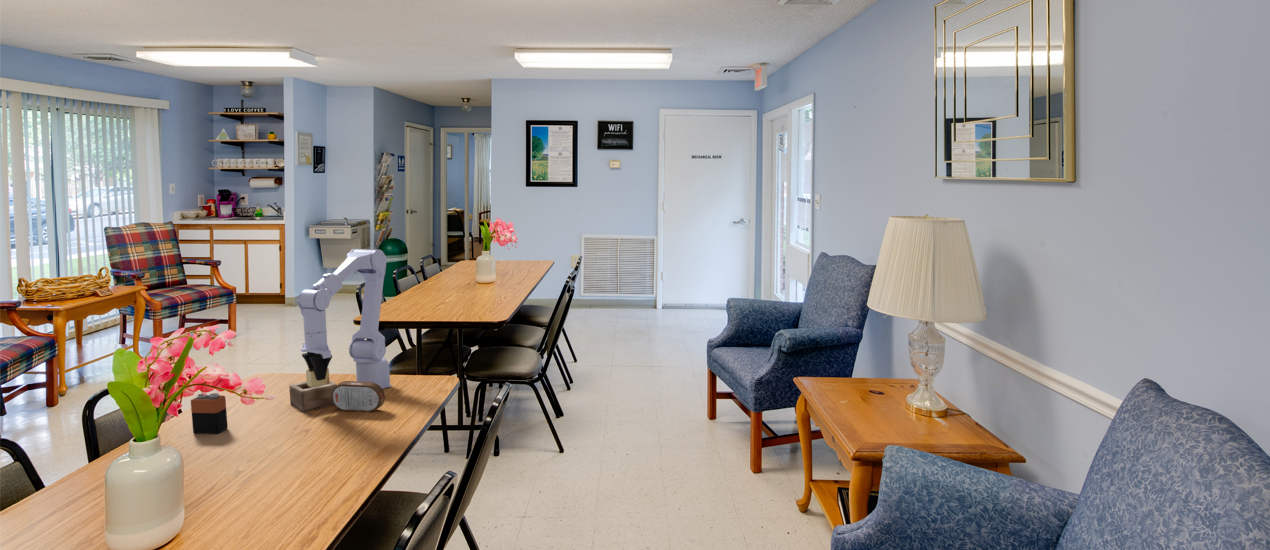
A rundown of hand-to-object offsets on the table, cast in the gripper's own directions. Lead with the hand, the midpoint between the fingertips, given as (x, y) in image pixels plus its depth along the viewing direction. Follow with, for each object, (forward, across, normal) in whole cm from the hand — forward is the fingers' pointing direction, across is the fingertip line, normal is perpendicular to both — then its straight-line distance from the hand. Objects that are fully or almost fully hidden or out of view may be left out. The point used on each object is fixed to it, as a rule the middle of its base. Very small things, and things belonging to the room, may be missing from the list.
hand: (318, 378), depth 195 cm
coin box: (+9, -6, +1) cm, 11 cm away
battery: (+9, -3, -27) cm, 29 cm away
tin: (+10, +8, +7) cm, 15 cm away
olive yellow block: (+2, 0, 0) cm, 2 cm away
